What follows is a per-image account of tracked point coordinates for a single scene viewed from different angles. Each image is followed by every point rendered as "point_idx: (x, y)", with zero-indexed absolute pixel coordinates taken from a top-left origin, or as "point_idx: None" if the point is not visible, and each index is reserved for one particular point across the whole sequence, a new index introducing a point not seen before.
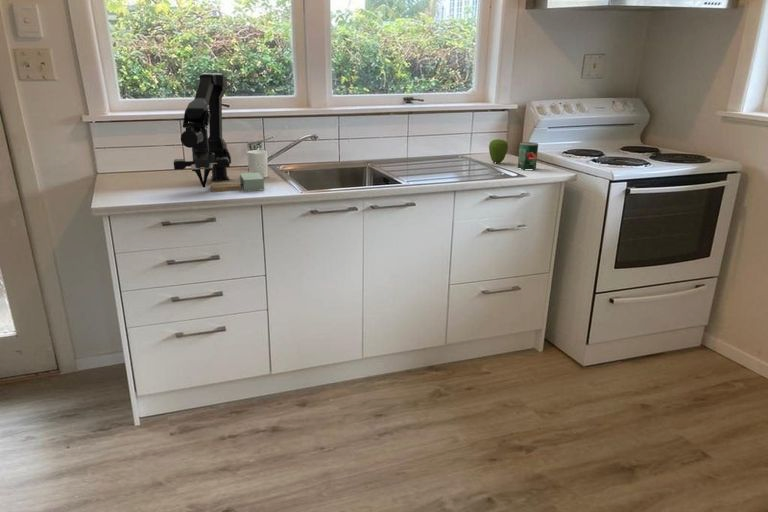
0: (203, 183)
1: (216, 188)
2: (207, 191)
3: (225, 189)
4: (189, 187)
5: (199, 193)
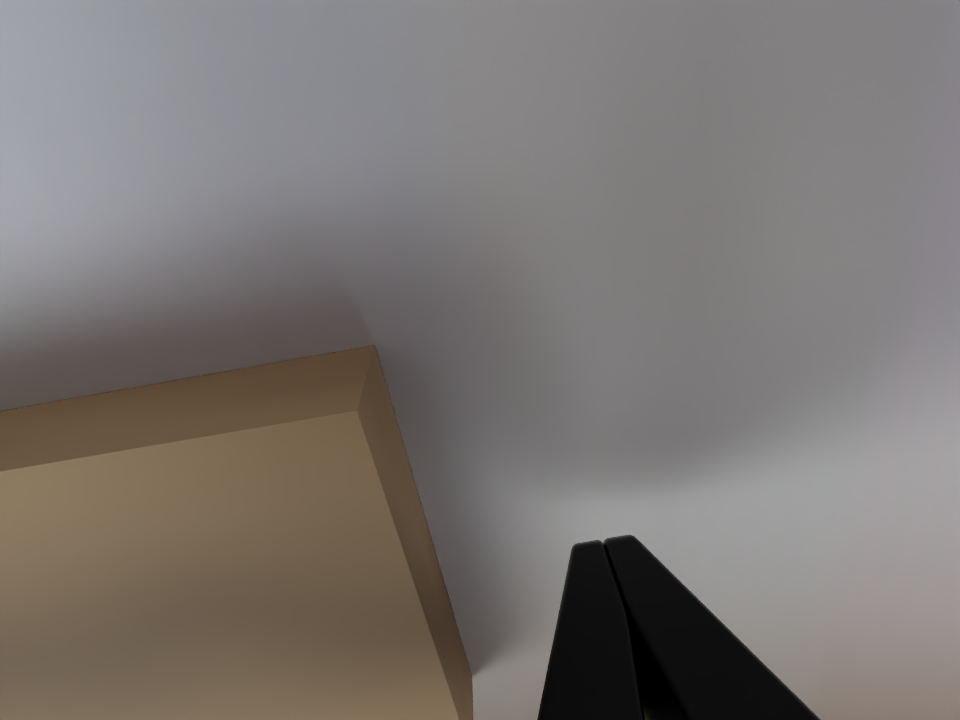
0: (633, 614)
1: (223, 410)
2: (493, 364)
3: (4, 427)
4: (862, 683)
5: (707, 128)
